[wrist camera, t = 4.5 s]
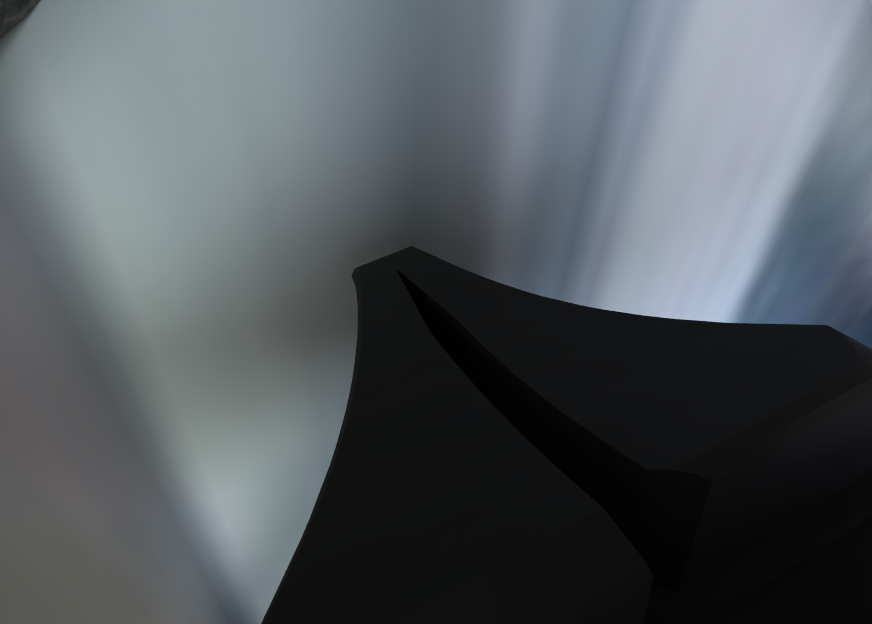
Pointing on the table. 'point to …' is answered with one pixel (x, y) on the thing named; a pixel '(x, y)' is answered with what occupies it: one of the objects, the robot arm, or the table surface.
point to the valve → (13, 12)
